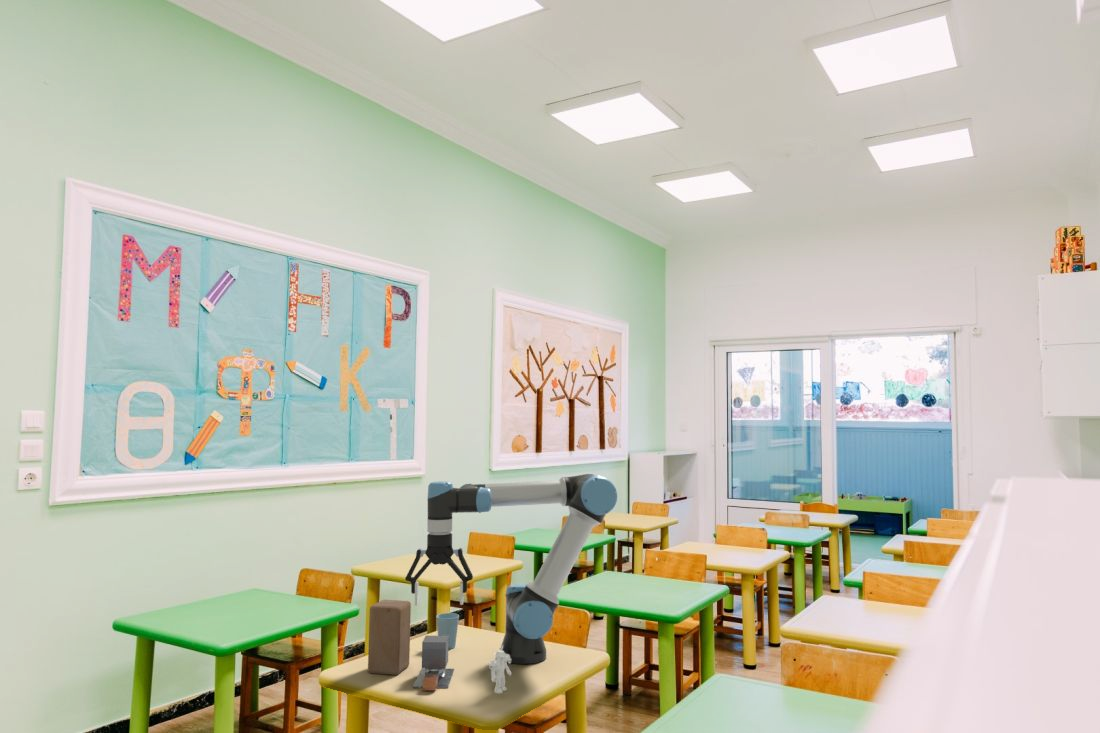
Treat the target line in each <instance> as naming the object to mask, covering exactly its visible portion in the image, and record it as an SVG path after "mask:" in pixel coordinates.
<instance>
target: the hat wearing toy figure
mask: <svg viewBox="0 0 1100 733" xmlns="http://www.w3.org/2000/svg"><path fill="white" fill-rule="evenodd" d="M502 649H503V646H502V647H501V646H500V647H499V649H498V650H496V652H495V653H493V656H494V659H493V658H492V659H491V660H490V661H489V662H488V668H489V670H490V674H491V681H492V682H493V683H495V686H494V690H493V692H494V693H496V694H503V692H505V691H507V690H508V687H506V686H505V684H506V677H505V673H506V674H507V675H508V676H509V677H511V676H512V671H511V670H510V667H509V666H508V664H509V665H510V664H512V663H511V662H510V661H512V660H511V658H510V654H506V653H504V651H503V650H502ZM507 661H509V662H507ZM505 670H506V671H505Z"/></svg>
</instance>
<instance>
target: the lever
mask: <svg viewBox="0 0 1100 733" xmlns="http://www.w3.org/2000/svg"><path fill="white" fill-rule="evenodd" d="M454 671H455V668H421V669H420V671H419V673H418V675H417V677H416V680H415V681H414V683H413V686H412V688H413V689H422V691H436V689H448V688H449V686H450V683H451V680H452V678H453V674H454Z"/></svg>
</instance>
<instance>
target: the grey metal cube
mask: <svg viewBox="0 0 1100 733" xmlns="http://www.w3.org/2000/svg"><path fill="white" fill-rule="evenodd" d="M421 644H422V645H421V669H425V668H445V669H447V665H448V663H449V649H448V647H449V636H438V635H425V636H424V638H423V640H422V642H421Z"/></svg>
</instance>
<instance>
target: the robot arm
mask: <svg viewBox="0 0 1100 733" xmlns="http://www.w3.org/2000/svg"><path fill="white" fill-rule="evenodd" d="M617 502H618V492H617V488H616V487H615V485H614V483H613V482H612V481H611V480H609V479H608V478H606V477H604V476H603V475H597V474H593V473H587V474H586V473H585V474H584V473H583V474H579V475H572V476H561V477H560V478H559V479H558V480H542V481H539V480H537V481H522V482H520V481H519V482H499V483H498V482H497V483H482V484H481V483H479V484H477V483H476V484H472V483H465V484H463V485H462V486H460V487H459V488H458V487H454V485H453V482H452V481H433V482H429V484H428V486H427V519H426V520H427V528H426V529H427V531H426V532H427V533H428V534H427V535H426V536H427V537H426V539H427V540H426V543H427V544H426V546H427V547H426V549H422V548H418V549H417V550H416V553H415V558H414V560H413V563H412V564H411V567H410V568H409V570H408V572H407V574H406V576H405V581H406V582H410V584H411V585H410V588H411V589H410V590H411V594H414V606H418V605H419V600H420V599H419V595H420V594H419V593H420V591H419V590H420V589H419V587H420V584H419V581H417V580H418V579H419V578H420V577H421V576H422V574H423V573H424V572H425V571H426V570H427V568H428V567H429V566H430V565H431V564H432V565H436V566H437V565H445V564H447V565H448V566H449V568H451V569H452V570H453V571H454V573H455V574H456V575H457V576H458V577H459V579H460V583H459V584H460V585H459V605H460V606H462V605H464V594H465V593H466V594H467V592H468V582H470V581H472V580H473V579H474V575H473V573H472V571H471V569H470V566H469V565H468V562H467V561H466V559H465V556H464V554H463V552H464V551H463V548H462V547H459V548H458V549H454V548H453V533H451V532H452V531H453V513H454V514H457V513H459V514H460V513H461V514H462V513H479V514H480V513H481V514H482V513H487V512H488V513H489V512H490V511H491V509H492V508H493V507H494V508H495V507H511V506H512V507H513V506H530V505H531V506H533V505H535V506H536V505H537V506H538V505H551V504H553V505H555V504H556V505H557V504H560V505H561V506H562V507H568V511H569V514H568V516H567V518H566V520H565V522H564V524H563V525H562V528H561V530H560V531H559V534H558V535H557V537H556V539H555V541H554V543H553V544H552V546H551V548H550V550H549V551H548V553H547V555H546V558H545V560H544V561H543V564H542V565H541V567H540V569H539V571H538V572H537V574H536V577H535V578H534V579H533V581H532V582H530V583H525V584H511V585H508V586H507V587H506V591H505V592H506V593H505V633H504V637H503V639H502V643H501V646H500V648H501V647H502V646H503V649H502V650H503V651H504V653H506V654H510V658H511V660H512V661H510V662H511V663H510V664H516V665H529V664H537V663H540V662H542V661H544V660H546V659H547V648H546V645H545V642H544V638H543V637H544V636H546V635H547V634H548V633H549V632H550V630H551V629H552V626H553V624H554V613H556V610H557V608H558V606H559V604H560V601H559V594H560V591H561V589H562V587H564V584H565V583H566V581H567V578H568V577H569V574H570V573H571V571H572V569H573V567H574V565H575V563H576V561H577V559H578V557H579V556H580V553H581V552H582V550H583V548H584V546H585V544H586V542H587V540H588V538H589V536H590V534H591V533H592V531H593V529H594V528H595V527H596V526H600V525H601V524H602V522H603V520H604V519H605V517H606V515H607V514H609V513H610V512H611V511H612V510H613V509H614V508H615V507H616V504H617ZM424 555H425V556H426V557H427V558H428V560H427V561H426V562H425V563H424V564H423V565H422V567H421V568H420V569H419V570H418V572H416V574H415V575H414V576H413V573H414V572H415V570H416V568H417V565H418V564H419V561H420V560H421V558H422V557H424ZM453 555H455V556H456V557H457V558H458V560H459V562H460V564H461V566H462V567H463V568H462V569H463V570H464V573H463V571H462V570H461V569H460V567H458V565H457V563H455V561H454V560H453V558H452V556H453ZM465 574H466V575H465ZM507 663H509V661H507Z"/></svg>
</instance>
